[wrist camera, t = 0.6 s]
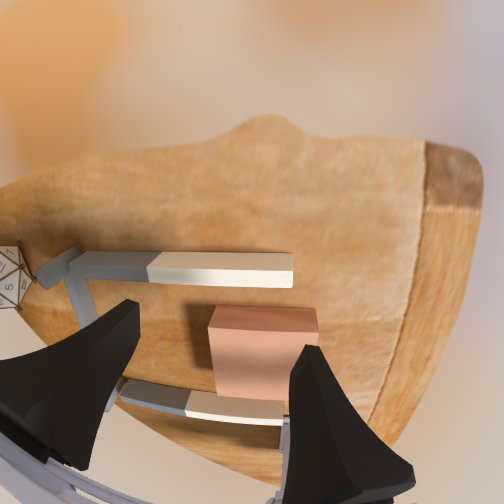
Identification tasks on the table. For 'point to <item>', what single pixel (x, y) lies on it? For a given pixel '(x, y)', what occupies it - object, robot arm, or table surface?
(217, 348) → the sliding block
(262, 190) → the table surface
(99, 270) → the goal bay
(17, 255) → the game die
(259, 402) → the lane walls
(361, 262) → the table surface
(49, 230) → the table surface
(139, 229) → the table surface
